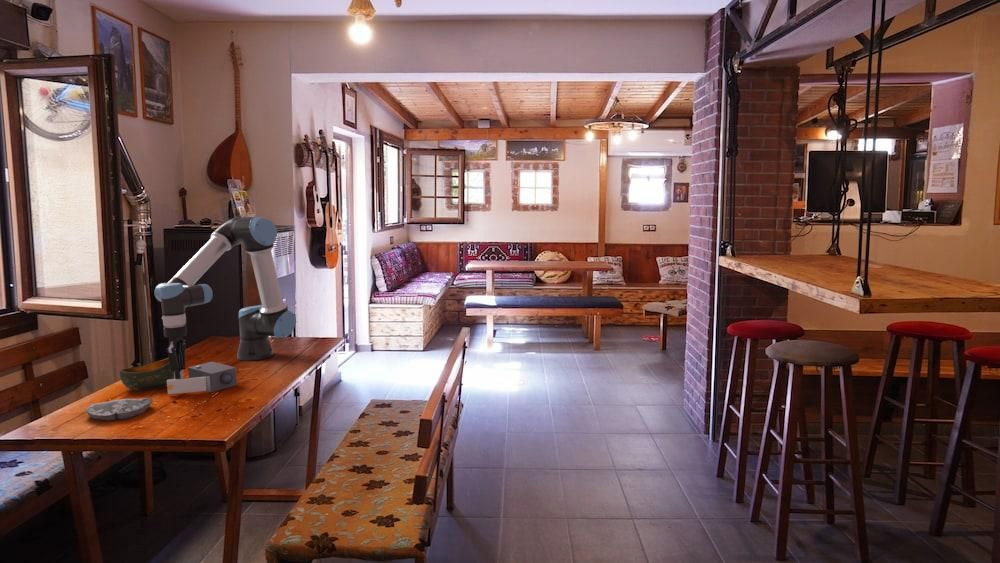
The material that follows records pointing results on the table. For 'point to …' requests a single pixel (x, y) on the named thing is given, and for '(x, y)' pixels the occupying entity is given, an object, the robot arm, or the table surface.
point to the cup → (147, 376)
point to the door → (188, 385)
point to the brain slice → (118, 409)
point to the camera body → (215, 374)
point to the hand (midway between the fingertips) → (179, 387)
